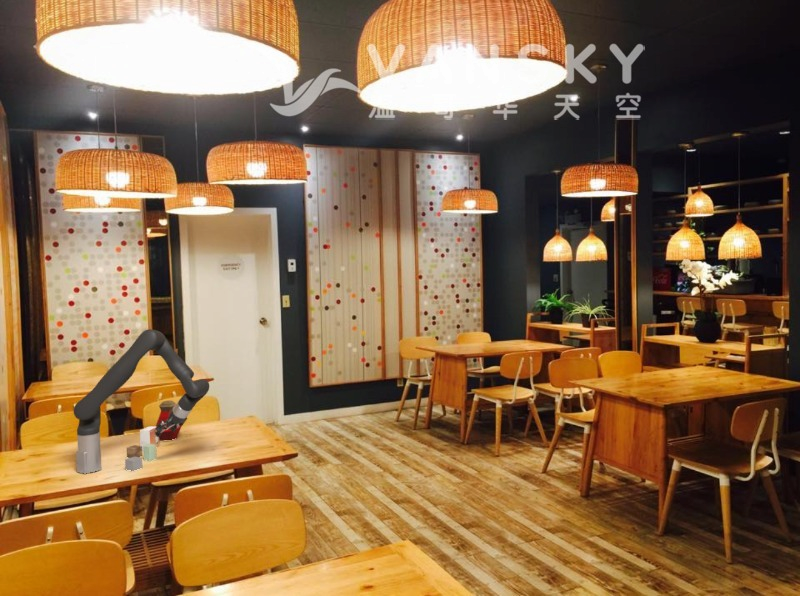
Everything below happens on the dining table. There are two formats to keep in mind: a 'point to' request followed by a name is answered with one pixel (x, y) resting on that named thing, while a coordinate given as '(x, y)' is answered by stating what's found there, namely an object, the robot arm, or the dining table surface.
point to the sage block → (149, 452)
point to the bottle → (164, 415)
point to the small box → (149, 436)
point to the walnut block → (134, 451)
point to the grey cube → (133, 463)
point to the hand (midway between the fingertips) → (164, 433)
